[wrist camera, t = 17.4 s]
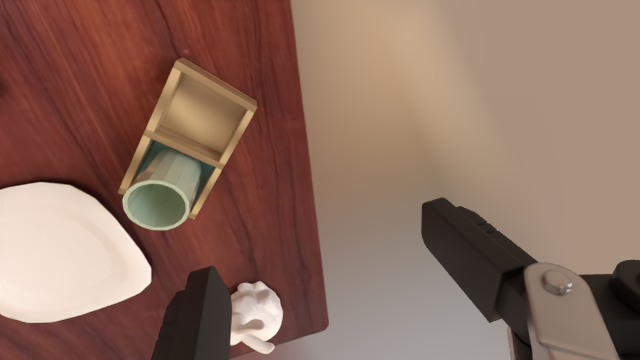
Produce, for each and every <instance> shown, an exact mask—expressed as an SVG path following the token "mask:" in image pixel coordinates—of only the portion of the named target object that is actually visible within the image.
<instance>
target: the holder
mask: <svg viewBox="0 0 640 360" xmlns="http://www.w3.org/2000/svg"><path fill="white" fill-rule="evenodd" d="M256 109H257V101H256V100H254V99H252V98H251V97H249V96H247V95H246V94H244V93H242V92H240V91H239V90H237V89H235V88H234V87H232V86H230V85H229V84H227V83H225V82H224V81H222V80H220V79H219V78H217V77H215V76H213V75H212V74H210V73H208V72H207V71H205V70H203V69H202V68H200V67H198V66H197V65H195V64H193V63H192V62H190V61H188V60H186V59H185V58H181V59H178V60H176V61H175V64H174V66H173V68H172V70H171V73H170V75H169V77H168V80H167V82H166V84H165V86H164V89H163V91H162V93H161V95H160V98H159V100H158V102H157V104H156V107H155V109H154V111H153V114H152V116H151V118H150V120H149V123H148V125H147V127H146V129H145V132H144V134H143V136H142V138H141V141H140V143H139V145H138V147H137V150H136V152H135V154H134V157H133V159H132V161H131V163H130V166H129V168H128V170H127V172H126V175H125V177H124V179H123V181H122V184H121V186H120V188H119V191H118V193H119V194H122V195H125V193H126V191H127V189H128V188H129V187H130V185H131V184H132V183H133V182H134V180H135V179H136V178H137V177H138V175H139V174H140V173H141V172H142V170H143V169H144V168H145V166H146V165H147V164H148V163H149V161H150V160H151V159H152V158H153V156H155V155H156V154H157V153H158V152H159V151H161V150H163V149H166V148H174V149H176V150H178V151H180V152H183V153H185V154H187V155H189V156H192V157H194V158H196V159H198V160H199V161H200V163H201V166H202V177H201V180H200V183H199V186H198V189H197V192H196V195H195V198H194V201H193V204H192V207H191V210H190V213H189V214H188V216H187V217H189V218H191V219H195V217H196V215H197V214H198V212H199V210H200V208H201V207H202V205H203V203H204V201H205V199H206V198H207V196H208V194H209V192H210V191H211V189H212V187H213V185H214V183H215V182H216V180H217V178H218V176H219V175H220V173H221V171H222V169H223V168H224V166H225V164H226V162H227V160H228V159H229V157H230V155H231V153H232V152H233V150H234V148H235V146H236V145H237V143H238V141H239V139H240V137H241V136H242V134H243V132H244V130H245V129H246V127H247V125H248V123H249V122H250V120H251V118H252V116H253V114H254V113H255V111H256Z"/></svg>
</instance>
